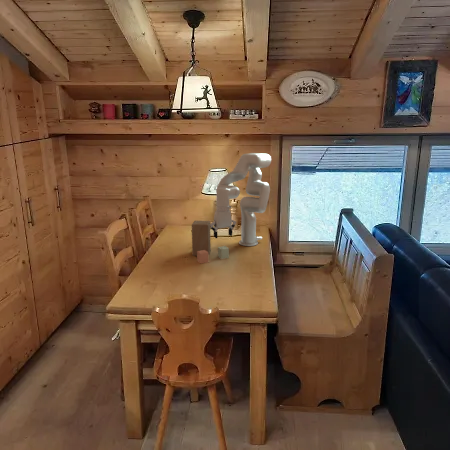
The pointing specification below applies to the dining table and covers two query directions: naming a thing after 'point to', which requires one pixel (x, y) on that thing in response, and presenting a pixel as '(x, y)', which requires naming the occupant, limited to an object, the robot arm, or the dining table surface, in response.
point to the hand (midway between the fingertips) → (223, 236)
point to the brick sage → (223, 252)
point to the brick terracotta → (202, 256)
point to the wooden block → (200, 237)
